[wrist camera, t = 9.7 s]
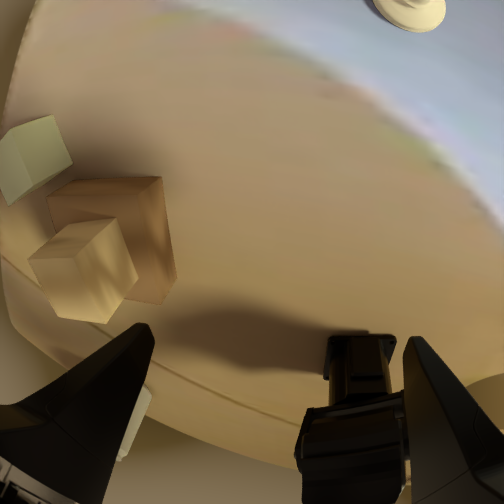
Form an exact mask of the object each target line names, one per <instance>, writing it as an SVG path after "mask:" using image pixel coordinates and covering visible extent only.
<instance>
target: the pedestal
mask: <svg viewBox="0 0 504 504" xmlns="http://www.w3.org/2000/svg"><path fill="white" fill-rule="evenodd" d="M46 199H47V203H48V207H49V210H50V214H51V218H52V221H53V224H54V228H55V231H56V234H57V233H58V232H60V231H61V230H62V229H63V228H65V227H66V226H67V225H68V224H73V223H80V222H87V221H94V220H102V219H110V218H117V221H118V224H119V227H120V230H121V233H122V235H123V238H124V241H125V244H126V246H127V249H128V252H129V254H130V257H131V260H132V262H133V265H134V267H135V270H136V273H137V275H138V280H137V281H136V283H135V284H134V285H133V287H132V288H131V289H130V291H129V292H128V293H127V295H126V296H125V298H124V299H128V300H133V301H139V302H144V303H150V304H156V305H161V304H162V302H163V300H164V299H165V297H166V295H167V294H168V292H169V290H170V289H171V287H172V286H173V284H174V282H175V281H176V279H177V274H176V268H175V263H174V257H173V251H172V245H171V239H170V233H169V227H168V220H167V213H166V207H165V199H164V192H163V184H162V177H128V178H104V179H85V180H73V181H71V182H70V183H68V184H66V185H65V186H63V187H61V188H60V189H58V190H56V191H55V192H53V193H52V194H50V195H48V196H47V197H46Z"/></svg>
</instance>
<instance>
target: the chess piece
mask: <svg viewBox="0 0 504 504" xmlns="http://www.w3.org/2000/svg"><path fill="white" fill-rule="evenodd" d="M373 2H374V4H375V6H376V8H377V9H378V10H379V12H380V13H381V14H382V15H383V16H384V17H385V18H386V19H387V20H388V21H390V22H391V23H392V24H394V25H396V26H397V27H399V28H402V29H404V30H407V31H411V32H427V31H430V30H432V29H434V28H435V27H437V26H438V25H439V24H440V23H441V22H442V20H443V18H444V16H445V11H446V6H445V1H444V0H373Z"/></svg>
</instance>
